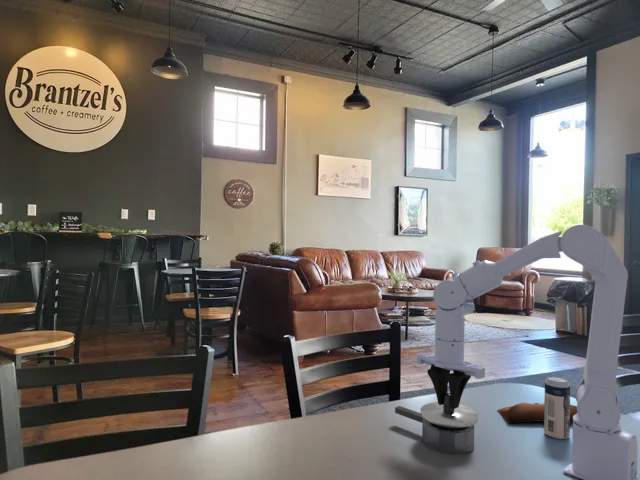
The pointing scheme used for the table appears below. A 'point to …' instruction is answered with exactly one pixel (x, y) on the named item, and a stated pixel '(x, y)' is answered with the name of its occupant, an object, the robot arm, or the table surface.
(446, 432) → the saucepan
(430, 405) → the lid
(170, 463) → the table surface
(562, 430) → the white labeled canister
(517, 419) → the sunglasses case
